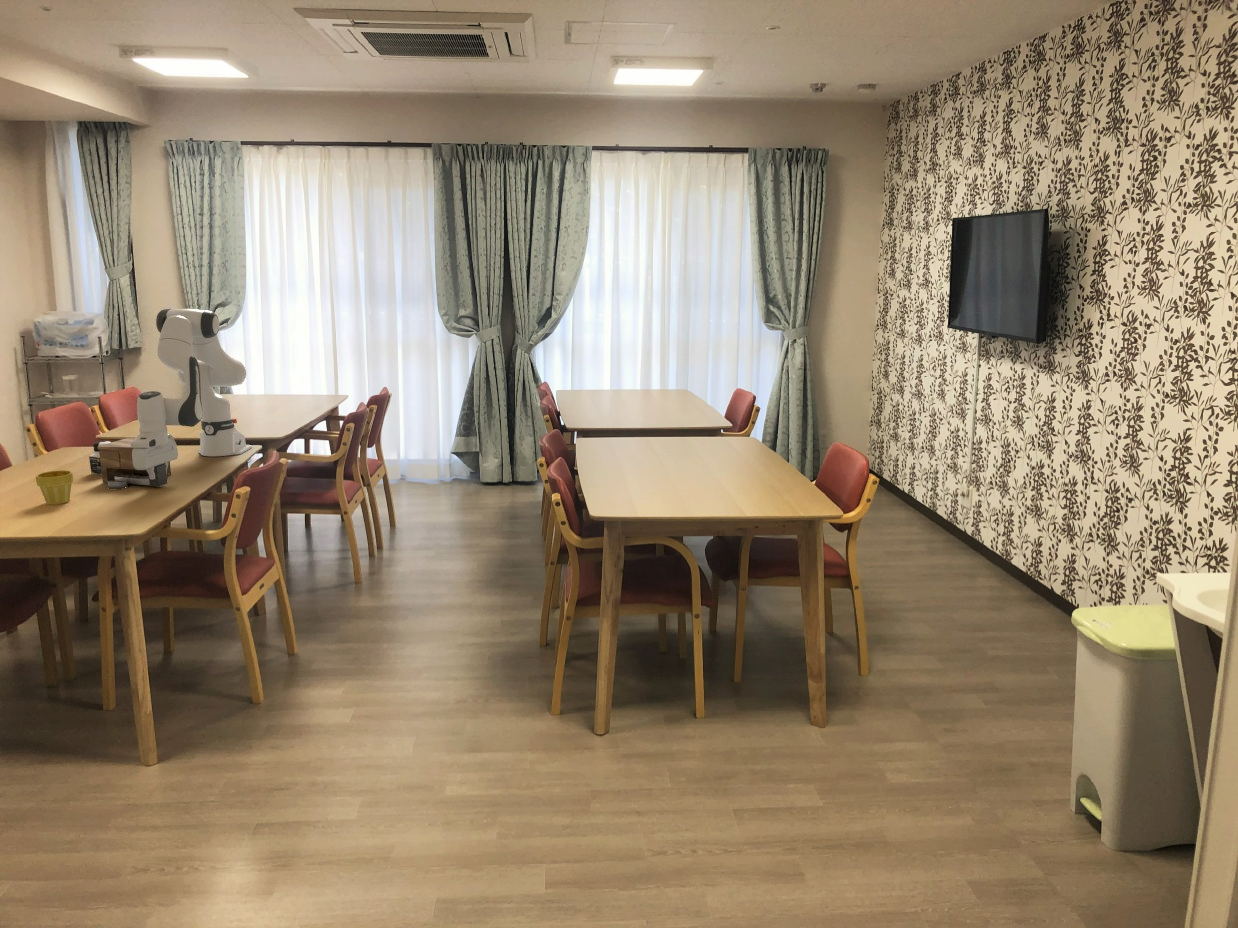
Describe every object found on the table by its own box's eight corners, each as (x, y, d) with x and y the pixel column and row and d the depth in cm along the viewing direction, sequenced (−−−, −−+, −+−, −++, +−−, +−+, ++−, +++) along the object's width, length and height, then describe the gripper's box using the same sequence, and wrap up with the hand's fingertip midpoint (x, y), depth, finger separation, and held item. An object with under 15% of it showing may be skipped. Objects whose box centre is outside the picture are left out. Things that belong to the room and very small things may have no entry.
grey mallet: (124, 479, 329) (121, 460, 327) (167, 483, 323) (165, 464, 321) (115, 482, 325) (112, 462, 324) (158, 486, 319) (156, 466, 318)
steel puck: (117, 485, 325) (117, 478, 324) (131, 486, 323) (130, 479, 323) (104, 489, 319) (103, 482, 319) (118, 490, 318) (117, 483, 317)
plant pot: (40, 508, 294) (36, 478, 292) (38, 501, 302) (34, 472, 300) (77, 503, 300) (74, 474, 298) (74, 496, 308) (70, 468, 306)
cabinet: (132, 472, 344) (128, 437, 341) (172, 474, 341) (168, 439, 338) (101, 483, 327) (97, 446, 325) (143, 484, 325) (139, 447, 322)
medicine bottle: (90, 473, 342) (86, 442, 339) (108, 470, 348) (104, 439, 346) (103, 475, 339) (100, 444, 336) (121, 471, 345) (117, 440, 343)
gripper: (164, 433, 329) (168, 470, 331) (126, 443, 309) (131, 483, 312) (180, 433, 328) (184, 471, 331) (144, 444, 308) (148, 484, 311)
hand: (158, 477), depth 321 cm, fingers closed on grey mallet, 4 cm apart
